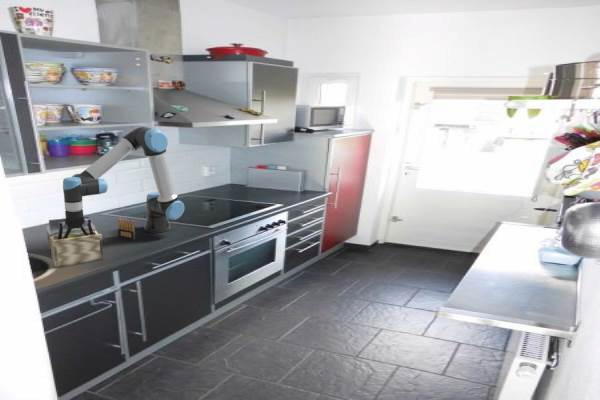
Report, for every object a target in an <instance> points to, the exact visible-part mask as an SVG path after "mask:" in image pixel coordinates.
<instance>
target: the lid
mask: <svg viewBox="0 0 600 400" xmlns="http://www.w3.org/2000/svg"><path fill="white" fill-rule="evenodd" d="M83 217H84V219H90V217H89V215H83ZM65 220H66V217H64V218H58V219H56V218H55V219H48V225H46V231H47V230H48V232H49V235H53V236H57V235H58V233H59V222H64V221H65ZM82 226H83V228H84V229H85V231H86V232H88V231H89V228H88V225H87V223H86V222H84V223H83V224H82ZM67 227H68V225H66V224H64V226H63V232H62V235H65V233H66V230H67ZM91 227H92V230H96V229H97V227H96V226H95V224H93V222H92V221H91ZM81 232H83V231H82V230H81V228H74V229H72V230H71V231H70V233H69V234H73V233H81Z"/></svg>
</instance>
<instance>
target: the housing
mask: <svg viewBox="0 0 600 400" xmlns="http://www.w3.org/2000/svg"><path fill="white" fill-rule="evenodd" d="M86 232H87V234H88V235H89V236H81V237H74V238H67V239H63V237H64V235H65V234H62V239H59V240H58V235H49V232H48V230H47V229H46V234H47V245H48V246H47V247H48V249H49V250H50V251H51V259H52V262H53V265H54V266H55V269H58V268H64V267H70V266H75V265H82V264H86V263H93V262H94V263H95V262H100V261H104V252H103V251H104V250H103V234H102V233H99V232H98V231H97V230H96V229H95V230H93V234H94V235H90V232H89V231H86ZM77 234H81V235H85V234H84V233H83V231H80V232H73V233H69V236H70V235H77ZM99 260H100V261H99Z"/></svg>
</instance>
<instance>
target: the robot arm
mask: <svg viewBox="0 0 600 400" xmlns="http://www.w3.org/2000/svg"><path fill="white" fill-rule="evenodd" d="M168 144H169V141H168V137H167V135H166V133H165V132H163V131H162V130H159V129H157V128H149V127H147V126H146V127H145V126H140V127H137V128H134V129H133V130H131V131H130V132H128V133H127V134H125V135H124V136H123V137H121V139H120V141H119V142H118V143H117V144H116V145H114V146H113V147H112V148H111V149H110V150H108V151H107V152H105V154H103V155H102V156H101V157H100V158H98V159H97V160H96V161H94V162H93V163H92V164H91V165H89V166H88V167H87V168H86V169H85V170H83V171H82V172H81V173H75V174H73V175H72V176H70V177H65V178H63V180H62V190H63V200H64V210H65V211H64V215H65V218H66V220H65V221H64V222H59V233H58V234H57V236H58V240H59V239H62V235H64V237H63V239H67V238H68V236H69V234H71V233H70V231H71V230H72V229H74V228H81V230H82V231H81V232H83V233H84V234H85V236H89V235H88V234H87V232H90V235H94V234H93V230H92V227H91V222H92V220H91V218H89V219H84V217H83V216H84V209H83V208H84V205H83V197H87V196H89V197H90V196H94V195H95V196H96V195H102V194H106V193H107V191H108V188H109V187H108V182H107V181H106V180H105V179H104V178H101V177H102V176H103V175H105V174H106V173H107V172H108V171H110V170H112V168H113V167H114V166H116V165H117V164H119V163H120V162H121V161H122V160H123V159H124V158H126V157H127V156H128V155H129V154H131V153H135V152H136V151H138V150H140V149H142V151H143V154H144V156H145V157H147V158H148V161H149V164H150V168H151V171H152V176H153V179H154V182H155V186H156V189H157V191H156V192H150V193H147V195H146V220H145V224H144V227H143V229H144V231H145V232H146V233H147V232H148V233H153V234H156V233H157V234H158V233H165V232H167V231H169V230H171V224H170V220H172V221H173V220H174V221H175V220H178V219H179V218H181V216H183V214H184V211H185V204H184V203H183V201H181V200H180V199H179V198H180V197H179V194H178V193H177V192H175V190H174V187H173V182H172V179H171V175H170V170H169V167H168V162H167V160H166V156H165V154H166V152H167V147H168ZM84 222H86V223H87V225H88V228H89V230H88V231H85V229H84V228H83V226H82V224H83V223H84ZM64 224H66V225H68V227H67V230H66V233H64V234H62V232H63V226H64Z"/></svg>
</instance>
